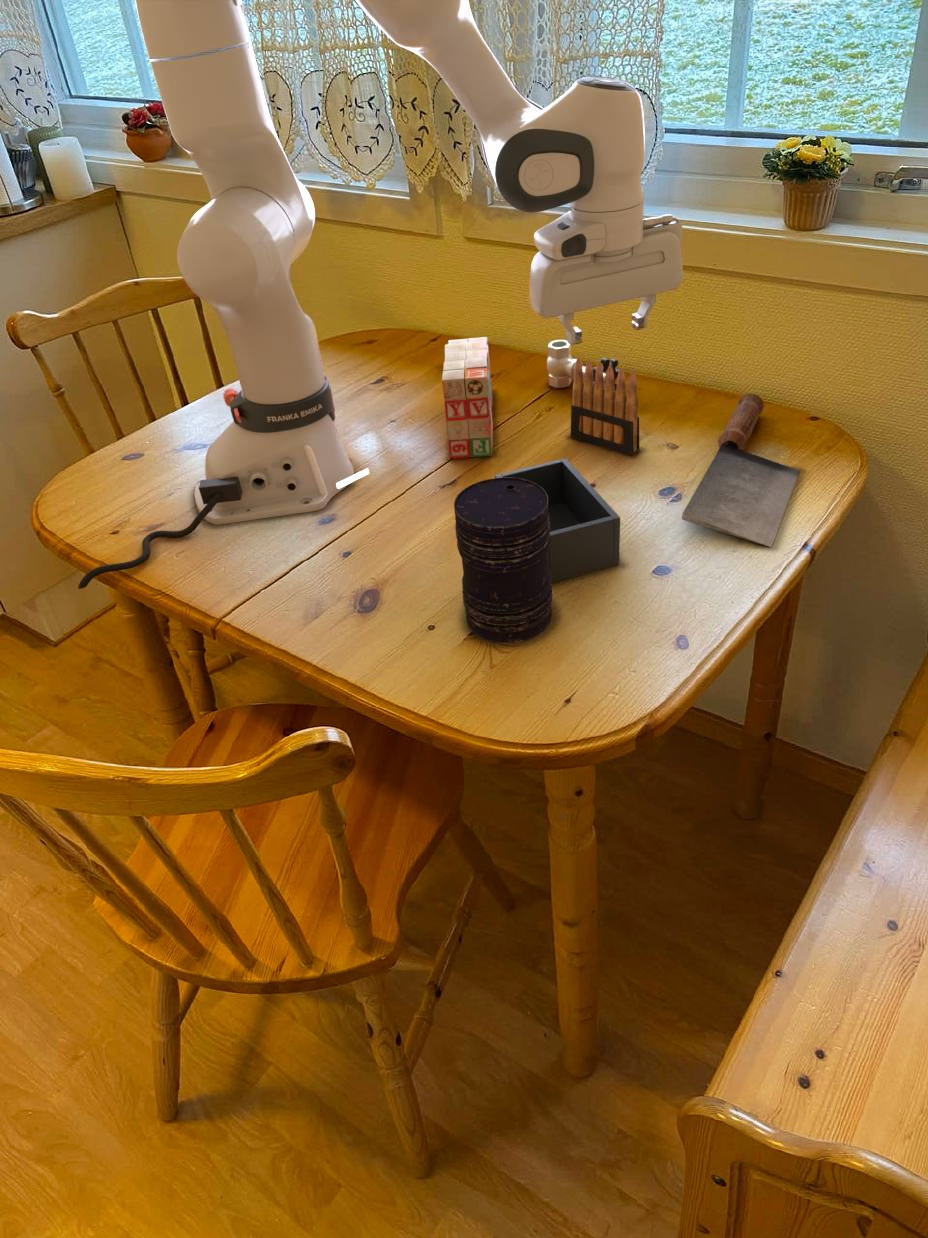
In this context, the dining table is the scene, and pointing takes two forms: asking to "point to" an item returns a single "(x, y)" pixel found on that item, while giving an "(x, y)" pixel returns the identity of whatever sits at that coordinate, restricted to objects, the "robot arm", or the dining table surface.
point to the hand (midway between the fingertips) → (607, 335)
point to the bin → (574, 520)
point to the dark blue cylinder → (505, 558)
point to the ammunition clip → (605, 409)
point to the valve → (570, 365)
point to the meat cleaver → (742, 484)
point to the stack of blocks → (468, 397)
